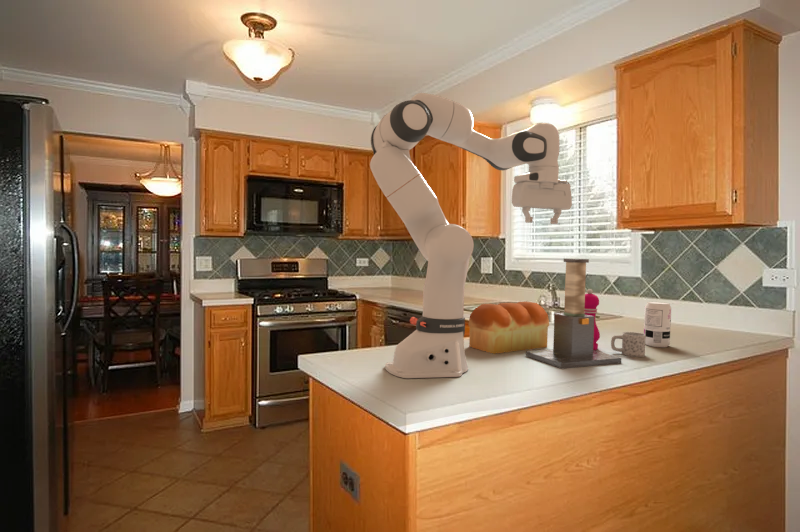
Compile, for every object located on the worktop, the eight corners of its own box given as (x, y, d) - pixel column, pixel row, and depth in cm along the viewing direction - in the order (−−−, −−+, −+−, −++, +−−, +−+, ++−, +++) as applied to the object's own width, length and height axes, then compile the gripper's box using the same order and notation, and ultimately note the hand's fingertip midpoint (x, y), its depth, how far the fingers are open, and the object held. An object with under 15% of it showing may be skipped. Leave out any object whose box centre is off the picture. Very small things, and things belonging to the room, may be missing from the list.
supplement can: (639, 342, 178) (641, 301, 177) (662, 343, 178) (664, 301, 177) (649, 347, 170) (651, 303, 169) (674, 347, 169) (676, 304, 169)
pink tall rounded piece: (601, 351, 162) (603, 290, 161) (578, 349, 163) (580, 289, 162) (597, 346, 169) (599, 288, 168) (574, 345, 170) (577, 287, 169)
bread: (521, 340, 177) (522, 300, 177) (548, 347, 167) (550, 303, 166) (467, 347, 164) (468, 303, 164) (493, 354, 154) (494, 307, 153)
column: (572, 330, 145) (575, 259, 144) (561, 327, 149) (563, 258, 149) (586, 329, 147) (588, 259, 146) (574, 327, 151) (576, 258, 150)
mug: (642, 353, 160) (643, 332, 160) (646, 357, 153) (647, 336, 153) (609, 350, 162) (609, 330, 162) (612, 355, 156) (613, 334, 156)
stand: (561, 368, 137) (562, 320, 136) (525, 356, 152) (527, 312, 151) (621, 362, 145) (623, 317, 145) (582, 351, 160) (583, 310, 159)
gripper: (563, 181, 158) (561, 224, 158) (509, 176, 150) (507, 222, 151) (577, 179, 152) (575, 224, 152) (522, 174, 144) (520, 221, 145)
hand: (541, 223), depth 151 cm, fingers open, 8 cm apart
